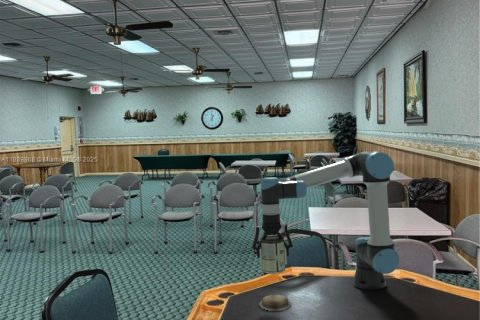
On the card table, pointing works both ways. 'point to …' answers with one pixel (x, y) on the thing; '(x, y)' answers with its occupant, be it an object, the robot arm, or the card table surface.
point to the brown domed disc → (275, 303)
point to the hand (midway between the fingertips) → (273, 264)
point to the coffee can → (273, 255)
